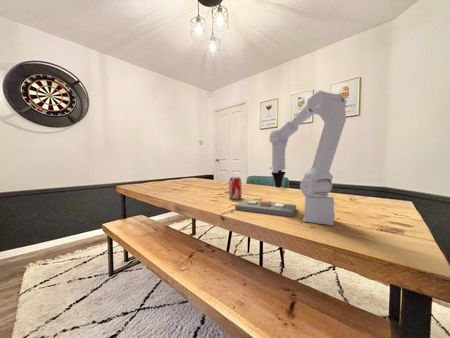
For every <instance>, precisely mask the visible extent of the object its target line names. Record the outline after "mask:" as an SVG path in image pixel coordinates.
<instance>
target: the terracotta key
mask: <svg viewBox="0 0 450 338" xmlns="http://www.w3.org/2000/svg"><path fill="white" fill-rule="evenodd" d="M259 201H260V206H267V207H269V206H271V199H269V200H268V199H262V200H259Z"/></svg>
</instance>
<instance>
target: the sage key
mask: <svg viewBox="0 0 450 338" xmlns="http://www.w3.org/2000/svg"><path fill="white" fill-rule="evenodd" d="M258 201H259V200H252V201H249V202H247V204H249V205H257V204H258Z"/></svg>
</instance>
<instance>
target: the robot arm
mask: <svg viewBox="0 0 450 338" xmlns="http://www.w3.org/2000/svg"><path fill="white" fill-rule="evenodd" d="M346 106H347V100H346V98H345V97H343V95H341V94H340V93H333V92H327V91H323V90H316V91H315V92H314V93H312V94H311V96H310V97H308V98H307V100H306V104H305V105H304V106H303V107H302V109H301V110H300V111H299V112H298V113H297V114H296V115H295V116H294V117H293V119H287V120H285V122H284V123H283V124H282V125H281V126H280V127H279V128H278V129H276V130H275V129H274V130H272V131H271V132H270V135H269V142H270V143H271V156H272V157H271V160H272V161H271V162H272V163H271V166H270V167H269V170H272V171H271V175H272V177H273V180H274V185H275V188H278V189H279V188H280V189H281V188H282V185H283V181H284V177H285V175H286V171H284V170H286V148H287V144H288V141H289V138H290V137H291V136H293V135H294V134H295V133H296V132H298V130H299V126H300V125H302V124H303V123H304V122H306V121H307V120H308V119H310V118H312V116H314V115H318V116H319V117H320V118H321V120H322V121H323V122H324V124H323V127H322V131H321V134H320V137H319V141H318V142H319V143H318V146H317V148H316V153H315V155H314V159H313V162H312V165H311V166H312V167H311V168H309V170H307V171H306V172H305V173H304V177H303V178H302V179H301V181H300V184H299V186H300V191H301V192H302V194H303V196H304V214H303V217H302V222H306V223H313V224H320V225H328V226H334V223H335V222H334V221H335V220H334V219H335V211H334V210H335V200H334V199H335V197H333V196H329V193H330V192H331V191H332V189H333V178H334V176H333V174H332V173H331V172H330V170H331V168H332V164H333V161H334V158H335V155H336V151H337V149H338V146H339V143H340V142H339V141H340V138H341V136H342V133H343V129H344V127H345V124H346V121H347V120H346V119H347V115H346V113H347V112H346Z"/></svg>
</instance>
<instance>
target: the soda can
mask: <svg viewBox="0 0 450 338" xmlns="http://www.w3.org/2000/svg"><path fill="white" fill-rule="evenodd" d="M228 188H229V189H228V190H229V191H228V196H229V198H231V199H232V200H238V199H239V200H240V199H241V198H242V188H243V187H242V179H241V177H240V176H230V178H229V180H228Z"/></svg>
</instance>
